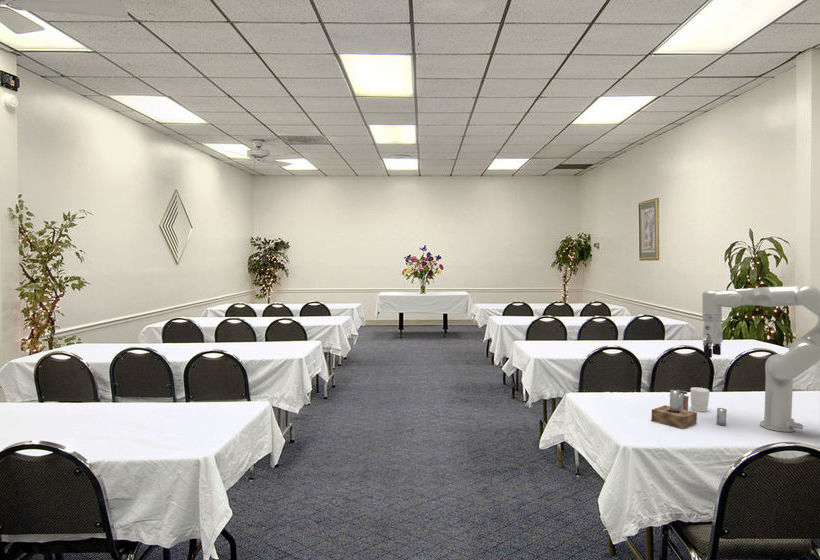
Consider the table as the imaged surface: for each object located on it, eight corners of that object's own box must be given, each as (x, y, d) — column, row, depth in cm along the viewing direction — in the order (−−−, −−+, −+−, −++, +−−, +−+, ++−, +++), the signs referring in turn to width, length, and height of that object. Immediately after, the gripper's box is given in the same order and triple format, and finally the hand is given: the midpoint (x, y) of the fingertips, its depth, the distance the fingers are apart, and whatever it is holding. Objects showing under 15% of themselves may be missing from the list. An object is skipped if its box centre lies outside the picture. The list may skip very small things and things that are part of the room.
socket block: (696, 423, 227) (696, 412, 227) (683, 429, 219) (684, 417, 219) (664, 416, 238) (665, 405, 238) (651, 420, 231) (651, 409, 230)
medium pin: (684, 416, 237) (684, 395, 237) (680, 418, 235) (681, 396, 234) (676, 414, 240) (676, 393, 240) (672, 416, 238) (673, 394, 237)
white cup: (707, 413, 243) (708, 392, 242) (688, 410, 247) (689, 389, 247) (709, 409, 249) (710, 389, 249) (691, 406, 254) (692, 386, 253)
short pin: (727, 425, 226) (728, 409, 225) (724, 426, 223) (724, 410, 223) (718, 422, 228) (718, 407, 228) (715, 424, 226) (715, 408, 226)
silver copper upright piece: (669, 410, 246) (669, 390, 246) (669, 408, 249) (669, 388, 249) (688, 413, 243) (688, 392, 242) (688, 411, 246) (688, 390, 245)
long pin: (679, 422, 228) (681, 391, 228) (676, 424, 226) (677, 392, 226) (671, 420, 231) (672, 389, 231) (667, 421, 229) (668, 390, 228)
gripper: (713, 320, 224) (713, 359, 225) (728, 317, 235) (728, 354, 236) (695, 319, 230) (695, 357, 230) (710, 316, 241) (711, 352, 241)
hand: (712, 355), depth 233 cm, fingers open, 9 cm apart
